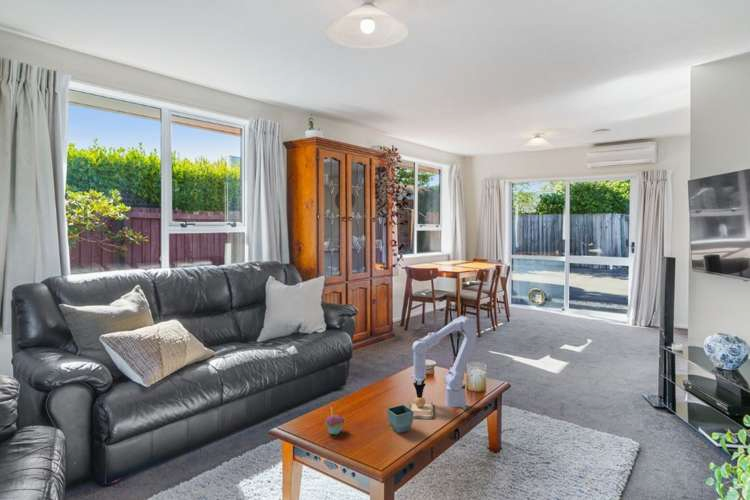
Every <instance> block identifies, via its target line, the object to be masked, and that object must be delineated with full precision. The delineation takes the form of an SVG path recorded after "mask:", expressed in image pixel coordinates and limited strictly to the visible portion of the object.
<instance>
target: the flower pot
mask: <svg viewBox="0 0 750 500" xmlns="http://www.w3.org/2000/svg"><path fill="white" fill-rule="evenodd" d="M386 414H387V420H388V423H389V426H390V427H391V429H392V430H393V431H395V432H396V433H397V434H402V433H404V432H405V433H406V432H409V430H411V427H412V425H413V422H414V418H413V415H414V411H413V410H411V409H409V408H408V407H407V406H406V405H405V404H400V405H397V406H392V407H388V408H386Z"/></svg>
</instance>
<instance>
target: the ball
mask: <svg viewBox="0 0 750 500" xmlns="http://www.w3.org/2000/svg"><path fill="white" fill-rule="evenodd" d="M414 404H416V406H417V407H423V406H424V405H425V404H426V399H425V398H424V397H423V396H422V398H417V397H415V399H414Z"/></svg>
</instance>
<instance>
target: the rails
mask: <svg viewBox="0 0 750 500" xmlns="http://www.w3.org/2000/svg"><path fill="white" fill-rule="evenodd" d="M410 404H411V403H410V401H409V400H407V406H406V407H408V408H409V405H410ZM430 404H431V411H430V413H431V414H430V415H429V414H413V420H414V419H415V420H416V419H417V420H419V419H420V420H422V419H423V420H434V410H433V409H434V407H433V405H434V403H433V401H431V402H430Z"/></svg>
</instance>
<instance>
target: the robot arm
mask: <svg viewBox="0 0 750 500" xmlns="http://www.w3.org/2000/svg"><path fill="white" fill-rule="evenodd" d="M476 328H477V325H476V323H475V322H474V320H473V319H471V318H468V317H467V316H465V315H459V316H458V317H457V318H455V319H453V320H452V321H451V322H449V323H448V324H446V325H445V326H444V327H443V328H440V330H438V331H437V332H434V331H433V332H428V333H427V335H426V336H424V337H423V338H419V340H416V341H414V342H413V344H412V346H411V350H412V351H413V374H411V375H410V377H411V378H413V379H414V382H413V384H412V385H413V387H414V388H415V392H416V398H422V397H423V394H424V390H425V387H426V383H425V381H426V378H427V373H426V372H427V371H426V369H427V368H426V361H427V360H426V354H427V351H428V350H429V349H431V348H433V347H435V346H436V345H437V344H439V343H440V340H441V339H443V338H444V337H446V336H447V335H449V334H451V333H453V332H462V334H463V337H464V338H463V340H462V343H461V345H460V347H459V351H458V353H457V356H456V358H455V361H454V363H453V365H452V367H450V368H449V370H448V371H447V373H445V375H444V377H443V378H444V379H443V381H444V382H445V385H446V386H445V405H446V406H447V407H450V408H462V410H463V411H466V405H467V400H466V389H465V388H462V387H463V380H464V370H465V368H466V365H467V363H468V360H469V358H470V356H471V353H472V351H473V348H474V345H475V343H476V340H477V337H478V336H477V329H476Z"/></svg>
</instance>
